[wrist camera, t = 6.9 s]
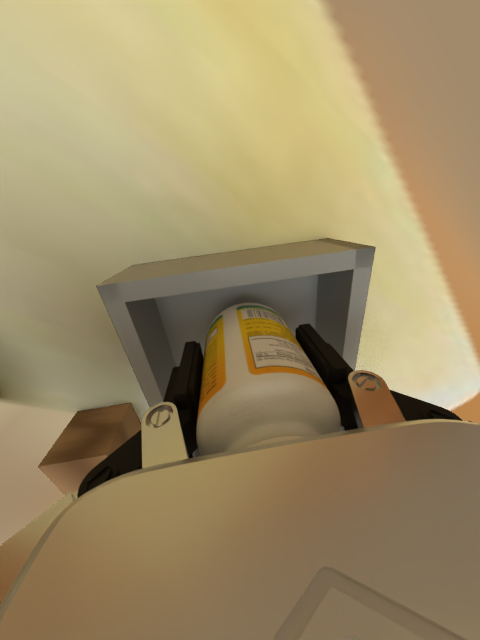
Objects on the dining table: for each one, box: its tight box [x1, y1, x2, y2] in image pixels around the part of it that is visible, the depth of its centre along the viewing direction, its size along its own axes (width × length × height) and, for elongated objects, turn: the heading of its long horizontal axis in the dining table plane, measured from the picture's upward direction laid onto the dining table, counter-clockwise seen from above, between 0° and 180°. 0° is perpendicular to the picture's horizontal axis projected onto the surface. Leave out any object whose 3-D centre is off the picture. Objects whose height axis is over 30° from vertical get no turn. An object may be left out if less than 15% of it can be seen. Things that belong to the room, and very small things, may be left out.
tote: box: [96, 238, 375, 457], centre depth 17 cm, size 14×18×5 cm
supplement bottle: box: [196, 303, 341, 456], centre depth 9 cm, size 5×5×10 cm
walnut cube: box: [38, 403, 141, 495], centre depth 19 cm, size 5×5×5 cm
